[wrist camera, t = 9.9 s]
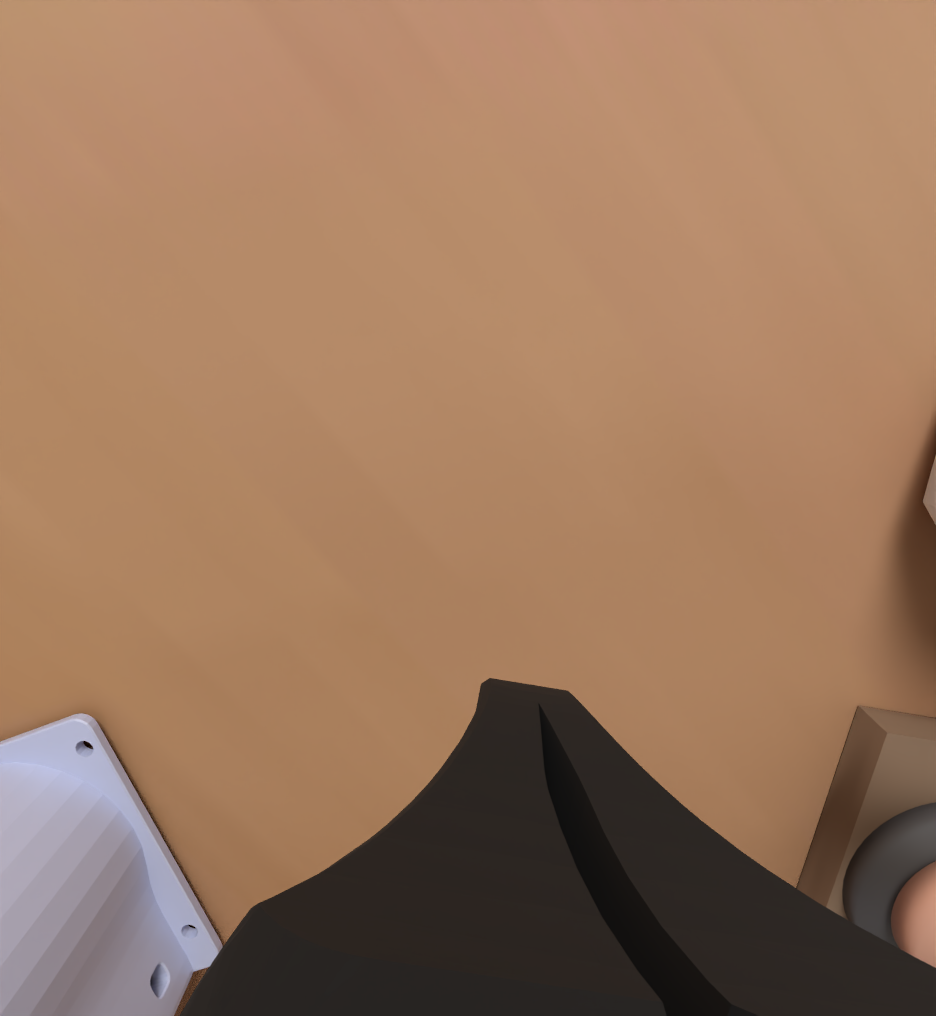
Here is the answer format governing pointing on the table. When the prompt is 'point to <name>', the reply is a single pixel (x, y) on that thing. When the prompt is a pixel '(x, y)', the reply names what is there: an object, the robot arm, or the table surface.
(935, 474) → the white handled tablet device
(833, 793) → the button panel
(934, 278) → the table surface
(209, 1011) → the robot arm
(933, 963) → the terracotta button
